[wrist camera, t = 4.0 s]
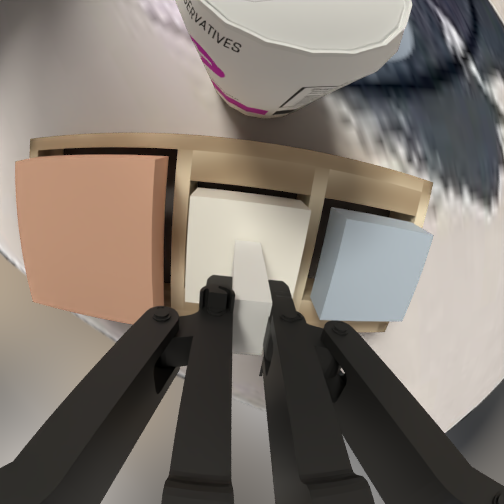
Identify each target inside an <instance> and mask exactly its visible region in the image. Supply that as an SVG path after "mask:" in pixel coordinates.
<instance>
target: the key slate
mask: <svg viewBox="0 0 504 504" xmlns="http://www.w3.org/2000/svg"><path fill="white" fill-rule="evenodd" d="M433 236H434V235H432V234H431V233H429V232H427V231H426V230H424V229H422V228H421V227H419V226H417V225H415V224H414V223H412V222H407V221H403V220H398V219H393V218H388V217H383V216H378V215H373V214H368V213H363V212H357V211H352V210H346V209H340V208H334V207H331V211H330V216H329V220H328V225H327V229H326V234H325V238H324V243H323V247H322V251H321V256H320V260H319V264H318V268H317V272H316V276H315V280H314V284H313V288H312V292H311V295H310V298H311V300H312V303H313V305H314V307H315V310H316V312H317V315H318V317H319V319H320V320H338V321H402V320H403V318H404V316H405V313H406V311H407V309H408V306H409V304H410V301H411V299H412V296H413V294H414V291H415V289H416V286H417V284H418V281H419V278H420V275H421V273H422V270H423V267H424V264H425V261H426V258H427V255H428V252H429V249H430V246H431V242H432V239H433Z"/></svg>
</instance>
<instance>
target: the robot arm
mask: <svg viewBox="0 0 504 504" xmlns="http://www.w3.org/2000/svg"><path fill="white" fill-rule="evenodd" d="M263 349H264V357H263V361H262V366H261V370H260V375H259V376H262V373H263V379H264V390H265V400H266V410H267V421H268V431H269V441H270V452H271V462H272V472H273V483H274V494H275V504H375V503H374V499H373V496H372V492H371V489H370V486H369V484H368V482H367V480H366V479H365V478H364V477H363V476H359V475H356V474H355V473H354V472H353V470H352V467H351V464H350V460H349V457H348V453H347V450H346V446H345V443H344V440H343V436H344V438H345V439H346V441H347V443H348V444H349V446H350V448H351V449H352V451H353V453H354V454H355V456H356V457H357V459H358V461H359V462H360V464H361V466H362V467H363V469H364V470H365V472H366V474H367V475H368V477H369V478H370V480H371V482H372V483H373V485H374V486H375V488H376V490H377V491H378V493H379V494H380V496H381V498H382V499H383V501H384V502H385V504H504V486H503V485H501V484H499V483H497V482H496V481H494V480H492V479H491V478H489V477H487V476H486V475H484V474H483V473H481V472H479V471H478V470H476V469H475V468H473V467H471V466H470V464H469V463H468V462H467V461H466V459H465V458H464V457H463V455H462V454H461V453H460V452H459V451H458V449H457V448H456V447H455V446H454V444H453V443H452V442H451V441H450V440H449V438H448V437H447V436H446V435H445V433H444V432H443V431H442V430H441V429H440V427H439V426H438V425H437V424H436V423H435V421H434V420H433V419H432V418H431V417H430V415H429V414H428V413H427V412H426V411H425V410H424V408H423V407H422V406H421V405H420V404H419V402H418V401H417V400H416V399H415V398H414V397H413V395H412V394H411V393H410V392H409V391H408V390H407V388H406V387H405V386H404V385H403V384H402V383H401V382H400V380H399V379H398V378H397V377H396V376H395V375H394V373H393V372H392V371H391V370H390V369H389V368H388V367H387V365H386V364H385V363H384V362H383V361H382V360H381V359H380V357H379V356H378V355H377V354H376V353H375V352H374V351H373V350H372V348H371V347H370V346H369V345H368V344H367V343H366V342H365V341H364V339H363V338H362V337H361V336H360V335H359V334H358V333H357V332H356V331H355V329H354V328H353V327H351V326H350V325H349V324H347V323H345V322H343V321H338V320H332V321H328V322H327V323H326V324H325V325H324V328H320V327H316V326H313V325H310V324H307V323H306V320H305V318H304V316H303V315H302V314H301V313H299V312H298V311H296V308H295V305H294V302H293V299H292V296H291V293H290V289H289V286H288V285H287V284H286V283H285V282H283V281H277V280H268V277H267V272H266V267H265V262H264V257H263V252H262V247H261V243H259V242H250V241H241V240H235V246H234V255H233V263H232V272H231V276H221V275H211V276H210V277H209V278H208V279H207V283H206V286H204V287H202V288H201V290H200V296H199V311H198V312H196V313H194V314H191V315H186V316H179V314H178V312H177V311H176V310H175V309H173V308H171V307H167V306H156V307H152V308H150V309H148V310H147V311H146V312H145V313H144V314H143V315H142V316H141V317H140V318H139V319H138V320H137V321H136V322H135V323H134V324H133V325H132V326H131V328H130V329H129V330H128V331H127V332H126V333H125V334H124V335H123V336H122V337H121V338H120V339H119V340H118V341H117V342H116V343H115V345H114V346H113V347H112V348H111V349H110V350H109V351H108V352H107V353H106V354H105V355H104V356H103V358H102V359H101V360H100V361H99V362H98V363H97V364H96V365H95V366H94V367H93V368H92V370H91V371H90V372H89V373H88V374H87V375H86V376H85V377H84V379H83V380H82V381H81V382H80V383H79V384H78V385H77V386H76V387H75V389H74V390H73V391H72V392H71V393H70V394H69V395H68V397H67V398H66V399H65V400H64V401H63V402H62V403H61V404H60V406H59V407H58V408H57V409H56V410H55V411H54V413H53V414H52V415H51V416H50V417H49V418H48V420H47V421H46V422H45V423H44V424H43V426H42V427H41V428H40V429H39V430H38V431H37V433H36V434H35V435H34V436H33V438H32V439H31V440H30V441H29V442H28V444H27V445H26V446H25V447H24V449H23V450H22V451H21V452H20V454H19V455H18V456H17V457H16V459H15V460H14V461H13V462H11V463H9V464H7V465H5V466H4V467H2V468H0V504H100V503H101V501H102V500H103V498H104V496H105V495H106V493H107V491H108V489H109V488H110V486H111V484H112V482H113V481H114V479H115V478H116V475H117V474H118V473H119V471H120V469H121V467H122V466H123V464H124V462H125V461H126V459H127V457H128V456H129V454H130V452H131V451H132V449H133V447H134V445H135V444H136V442H137V440H138V439H139V437H140V435H141V433H142V432H143V430H144V429H145V427H146V425H147V423H148V422H149V420H150V418H151V417H152V415H153V413H154V412H155V410H156V408H157V407H158V405H159V403H160V402H161V400H162V398H163V396H164V395H165V393H166V391H167V390H168V388H169V386H170V385H171V383H172V381H173V380H174V378H175V376H176V375H177V373H178V371H179V369H180V366H187V370H186V375H185V381H184V386H183V392H182V397H181V403H180V409H179V415H178V421H177V427H176V433H175V439H174V446H173V452H172V459H171V466H170V472H169V477H168V478H167V480H166V481H165V485H164V489H163V495H162V504H234V495H233V487H232V482H231V398H232V353H234V354H246V355H262V350H263ZM341 368H342V369H343V370H344V372H345V374H343V373H342V371H341V370H340V369H341ZM342 435H343V436H342Z"/></svg>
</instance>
